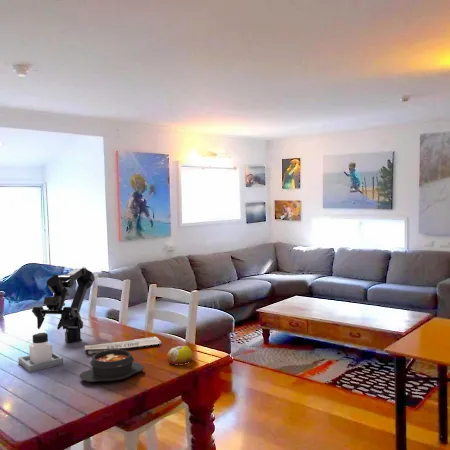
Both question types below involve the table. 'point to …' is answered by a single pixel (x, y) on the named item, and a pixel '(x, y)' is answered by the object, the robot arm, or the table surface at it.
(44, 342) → the medicine bottle
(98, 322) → the table surface
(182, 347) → the fruit
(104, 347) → the newspaper
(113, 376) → the casserole
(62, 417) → the table surface
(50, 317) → the table surface
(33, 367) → the tray
